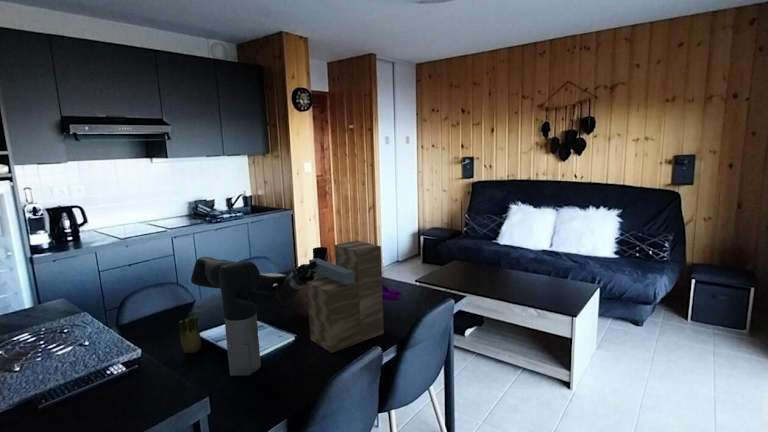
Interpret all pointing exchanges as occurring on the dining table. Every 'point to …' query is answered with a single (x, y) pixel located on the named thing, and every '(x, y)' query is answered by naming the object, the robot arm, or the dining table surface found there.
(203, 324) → the dining table surface
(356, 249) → the plinth
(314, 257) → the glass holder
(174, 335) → the dining table surface
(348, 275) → the blue-gray bar
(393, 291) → the cloth
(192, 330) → the fennel bulb
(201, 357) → the dining table surface
